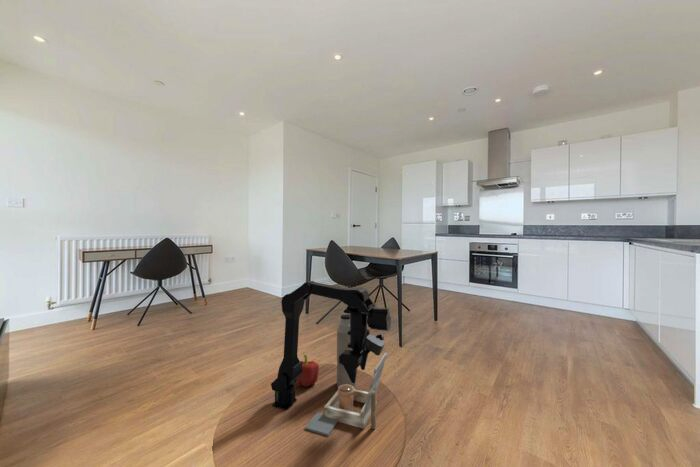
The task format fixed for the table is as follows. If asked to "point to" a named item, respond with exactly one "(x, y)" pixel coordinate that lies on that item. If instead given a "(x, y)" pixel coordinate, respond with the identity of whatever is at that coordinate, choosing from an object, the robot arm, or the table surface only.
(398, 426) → the table surface
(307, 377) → the vegetable
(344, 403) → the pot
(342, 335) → the thermos bottle
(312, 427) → the pad
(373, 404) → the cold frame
